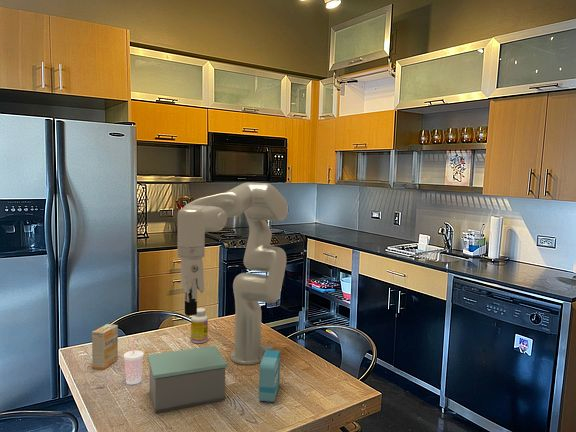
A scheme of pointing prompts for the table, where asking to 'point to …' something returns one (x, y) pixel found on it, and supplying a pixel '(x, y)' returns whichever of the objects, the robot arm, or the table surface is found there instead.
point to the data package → (269, 375)
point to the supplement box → (104, 346)
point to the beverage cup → (133, 366)
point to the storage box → (187, 390)
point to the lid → (185, 361)
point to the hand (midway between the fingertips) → (190, 314)
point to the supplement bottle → (199, 326)
